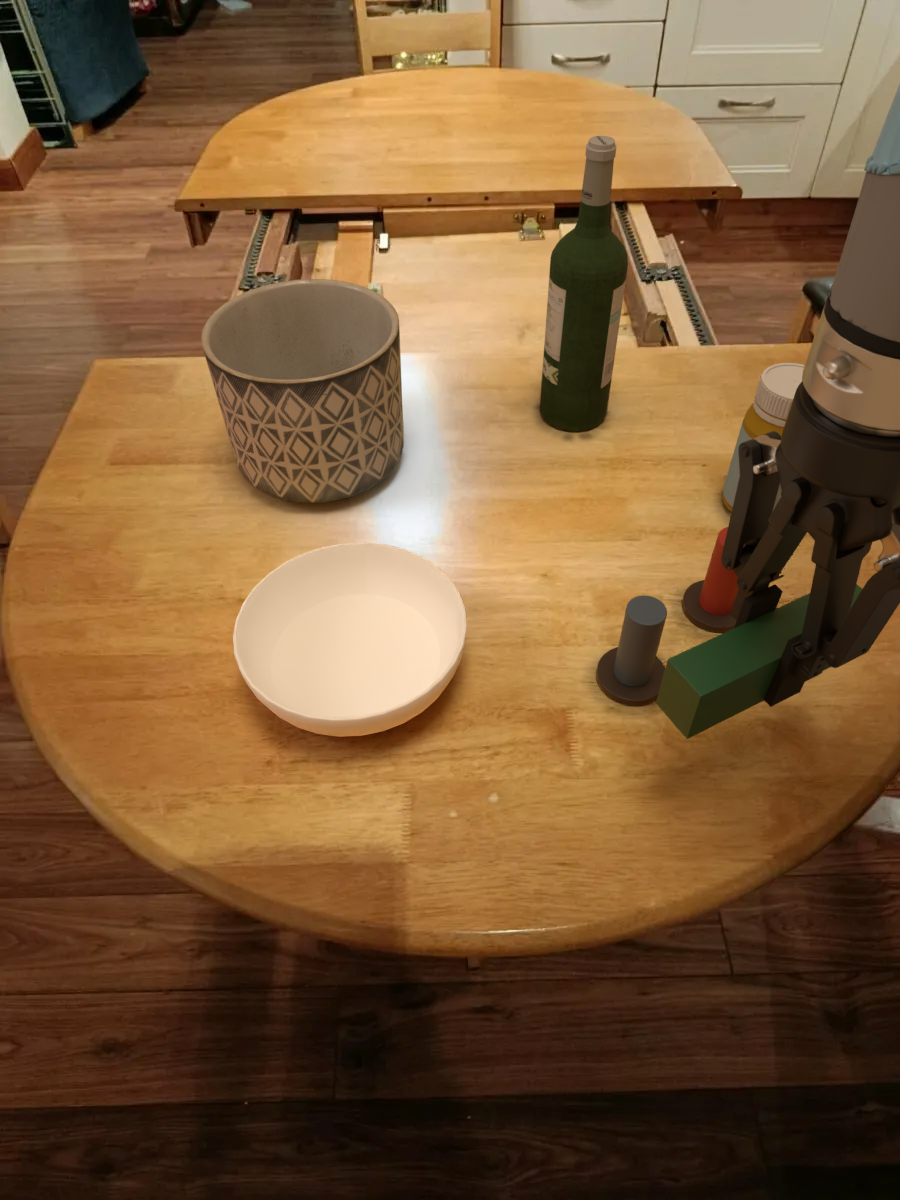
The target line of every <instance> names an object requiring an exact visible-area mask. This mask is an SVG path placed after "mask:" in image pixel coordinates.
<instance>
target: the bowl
mask: <svg viewBox="0 0 900 1200" xmlns="http://www.w3.org/2000/svg"><path fill="white" fill-rule="evenodd" d="M467 617H468V616H467V609H466V607H465V603H464V600H463V598H462V595H461V592H460V591H459V589H458V588H457V587H456V585H455V583H454V582H453V580H452V579H451V578H450V577H449V576H448V575H447V574H446V573H445V572H444V571H443V570H442V569H441V568H440V567H439V566H437V565H435V564H434V563H433V562H431V561H429V560H428V559H427V558H425V557H423V556H421V555H419V554H417V553H415V552H413V551H410V550H408V549H406V548H401V547H397V546H394V545H390V544H387V543H386V544H385V543H377V542H375V543H374V542H367V541H365V542H363V541H362V542H343V543H337V544H333V545H325V546H322V547H319V548H316V549H312V550H308V551H306V552H303V553H301V554H299V555H296V556H294V557H292V558H291V559H289V560H287V561H284V562H283V563H282V564H279V566H277V567H275V568H274V569H273V570H271V571H270V572H269V573H267V574H266V575H265V576H264V577H263V578H262V579H261V580H260V581H259V582H258V583H257V584H256V585H254V587H253V588H252V589H251V591H250V592H249V594H248V595H247V597H246V598H245V600H244V601H243V602H242V604H241V607H240V609H239V611H238V613H237V616H236V618H235V622H234V627H233V628H234V629H233V633H232V647H233V656H234V660H235V662H236V664H237V667H238V669H239V673H240V674H241V676H242V678H243V679H244V682H245V683H246V685H247V686H248V688H249V689H250V690H251V692H252V694H253V695H254V696H255V697H256V699H257V700H258V701H259V702H260V703H261V704H263V705H264V706H265V707H266V708H267V709H268V710H270V711H271V712H272V713H273V714H274V715H276V716H277V717H278V718H280V719H281V720H283V721H285V722H286V723H289V724H290V725H292V726H294V727H296V728H298V729H301V730H304V731H308V732H311V733H314V734H317V735H323V736H330V737H342V738H343V737H362V736H367V735H371V734H376V733H380V732H381V733H382V732H385V731H387V730H390V729H392V728H395V727H398V726H400V725H402V724H405V723H406V722H407V723H408V721H410V720H412V719H413V718H415V717H416V716H418V715H420V714H422V713H423V712H424V711H425V710H426V709H428V708H429V707H430V706H431V705H432V704H433V703H434V702H435V701H436V700H438V698H439V697H440V696H441V694H442V693H443V692H444V691H445V689H446V688H447V687H448V686H449V684H450V682H451V680H452V679H453V678H454V676H455V674H456V671H457V669H458V667H459V666H460V663H461V661H462V658H463V653H464V648H465V644H466V638H467V633H468V618H467Z"/></svg>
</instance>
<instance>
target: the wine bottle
mask: <svg viewBox="0 0 900 1200" xmlns="http://www.w3.org/2000/svg"><path fill="white" fill-rule="evenodd" d="M616 153H617V144H616V140H615V138H613V137H612V136H608V135H594V136H591V137H589V139H588V142H587V144H586V146H585V162H584V163H585V164H584V172H583V179H582V185H581V186H582V187H581V195H580V203H579V210H578V218H577V221H576V224H575V226H574V227H573V228H572V229H571V230H570V231H568V232H567V233H566V234H565V235H563V236H562V237H561V238H560V239H559V240H558V241H557V242H556V244H555V246H554V248H553V249H552V251H551V254H550V259H549V261H550V262H549V275H548V276H549V277H548V289H547V303H546V318H545V328H544V329H545V331H544V342H543V343H544V344H543V359H542V369H541V370H542V371H541V372H542V373H541V382H540V383H541V384H540V385H541V386H540V399H539V413H540V416H541V417H542V419H543V420H544V421H545V422H546V423H547V424H548V425H550V426H551V427H553V428H555V429H558V430H561V431H565V432H576V433H577V432H585V431H589V430H592V429H594V428H596V427H598V426H599V425H600V424H601V423H603V421H604V420H605V418H606V416H607V414H608V406H609V400H610V393H611V386H612V378H613V373H614V372H613V371H614V365H615V359H616V350H617V344H618V337H619V330H620V323H621V316H622V310H623V309H622V308H623V303H624V302H623V301H624V296H625V289H626V288H625V287H626V281H627V274H628V268H629V267H628V266H629V260H628V259H629V258H628V252H627V250H626V246H625V245H624V244H623V242H622V241H621V240H620V239H619V237H618V236H617V235H616V233H614V232H613V231H612V229H611V227H610V222H609V221H610V210H611V198H612V185H613V173H614V162H615V158H616V155H617V154H616Z"/></svg>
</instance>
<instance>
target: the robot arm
mask: <svg viewBox="0 0 900 1200" xmlns="http://www.w3.org/2000/svg"><path fill="white" fill-rule="evenodd" d="M897 86H898V87H897V88H896V92H895V95H894V97H893V99H892V102H891V104H890V108H889V109H888V113H887V115H886V117H885V120H884V122H883V125H882V128H881V131H880V133H879V135H878V138H877V141H876V143H875V146H874V148H873V151H872V153H871V155H870V156H869V157H868V158H867V159H866V162H865V165H864V171H865V175H864V178H863V182H862V185H861V189H860V192H859V196H858V199H857V203H856V207H855V210H854V213H853V217H852V219H851V222H850V225H849V226H850V227H849V230H848V232H847V236H846V240H845V242H844V246H843V249H842V252H841V255H840V259H839V262H838V265H837V269H836V272H835V274H834V279H833V281H832V284H831V286H830V289H829V290H828V294H827V298H826V301H825V303H824V306H823V308H822V311H821V315H820V317H819V321H818V324H817V327H816V330H815V333H814V336H813V338H812V342H811V345H810V348H809V351H808V354H807V357H806V360H805V363H804V365H805V366H804V369H803V375H802V382H801V383H800V384H799V386H798V387H797V389H796V392H795V395H794V398H793V401H792V404H791V407H790V411H789V414H788V417H787V420H786V423H785V426H784V429H783V432H782V436H780V434H779V433H778V432H776V431H771V432H769V433H766V434H764V435H761V436H759V437H756V438H753V439H751V440H748V441H745V442H743V443H741V444H740V445H739V448H738V453H739V469H740V477H739V482H738V486H737V491H736V495H735V499H734V504H733V508H732V512H730V517H729V521H728V526H727V527H728V530H727V534H726V539H725V543H724V548H723V552H722V556H721V561H722V564H723V566H724V567H725V569H727V570H732V569H733V570H734V572H735V573H736V575H737V577H738V579H737V586H738V588H739V589H738V592H737V595H736V598H735V601H734V605H733V607H732V617H733V618H734V619H735V620H736V624H735V627H734V628H736V627H738V626H740V625H743V624H745V623H747V622H749V621H751V620H753V619H755V618H758V617H760V616H762V615H764V614H766V613H768V612H771V611H773V610H775V609H777V608H778V604H779V602H780V601H781V600H780V599H781V597H782V594H783V593H784V591H783V589H781V588H780V587H779V586H778V585H776V584H772V585H771V586H770V584H771V583H773V582H775V581H778V580H780V579H781V578H784V577H785V574H782V572H783V570H784V568H785V566H786V565H787V564H788V562H789V561H790V559H791V557H792V556H793V554H795V552H796V550H797V549H798V547H799V546H800V544H801V542H802V541H803V540H804V538H805V536H806V535H807V534H809V536H810V537H811V538H812V539H813V541H814V543H813V547H812V553H811V557H810V558H811V562H812V563H813V564H815V567H814V572H813V577H812V582H811V587H810V592H809V593H810V596H809V601H808V606H807V611H806V616H805V621H804V626H803V631H802V634H800V635H798V636H796V637H793V638H791V639H789V640H788V642H787V644H786V647H785V649H784V651H783V654H782V656H781V659H780V662H779V664H778V667H777V669H776V671H775V674H774V676H773V678H772V681H771V683H770V685H769V688H768V690H767V692H766V695H765V697H764V699H763V700H764V701H763V702H765V703H766V704H767V705H768V706H769V707H770V708H771V707H774V706H775V705H777V704H779V703H782V702H783V701H785V700H787V699H789V698H792V697H794V696H795V695H797V694H800V693H801V692H802V689H803V687H804V685H805V683H806V682H808V681H810V680H812V679H815V678H816V677H818V676H820V675H821V674H823V672H824V671H825V670H824V667H825V666H826V664H827V663H828V665H830V666H831V667H830V668H833V669H838V668H839V667H841V666H843V665H845V664H847V663H849V662H851V661H854V660H856V659H857V658H860V657H861V656H863V655H866V654H867V653H868V652H869V651H870V649H872V646H873V645H874V643H875V642H876V640H877V639H878V637H879V636H880V634H881V633H882V631H883V630H884V628H885V626H886V625H887V624H888V622H889V620H890V619H891V618H892V616H893V615H894V613H895V612H896V610H897V608H898V607H899V605H900V83H898V85H897ZM780 484H781V489H782V492H781V498H780V500H779V502H778V503H777V505H776V507H775V508H774V504H775V500H776V497H777V493H778V489H779V485H780ZM773 508H774V510H773ZM772 511H773V512H772ZM878 541H880V542H881V547H882V550H881V553H880V554H879V555H878V559H877V561H875V562H874V563H873V569H874V571H876V572H875V573H874V574H872V576H871V577H869V579H868V580H867V581H866V583H864V585H863V587H862V590H861V592H860V594H859V596H858V597H857V599H856V601H855V602H854V604H853V606H852V607H851V604H852V600H853V596H854V592H855V588H856V584H857V583H858V580H859V574H860V571H861V567H862V563H863V560H864V559H865V557H866V556H867V555H868V554H869V553H870V551H871V548H872V544H873V543H874V542H878ZM857 585H858V584H857ZM850 608H851V609H850ZM823 670H824V671H823Z"/></svg>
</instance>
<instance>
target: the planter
mask: <svg viewBox="0 0 900 1200" xmlns="http://www.w3.org/2000/svg"><path fill="white" fill-rule="evenodd" d="M400 332H401V331H400V318H399V314H398V312H397V310H396V308H395V307H394V305H393V304H392V303H391V302H390V301H389V300H388V299H387V298H386V297H385V296H383V295H382V294H380V293H378V292H377V291H375V290H372V289H370V288H368V287H366V286H363V285H360V284H357V283H353V282H350V281H349V282H348V281H344V280H337V279H329V278H328V279H325V278H303V279H302V278H301V279H291V280H285V281H279V282H278V281H277V282H274V283H269V284H266V285H262V286H258V287H255V288H253V289H250V290H248V291H245V292H243V293H241V294H238V295H237V296H235V297H233V298H231V299H229V300H227V301H226V302H225V303H223V304H222V305H221V306H219V308H216V310H215V311H214V312H213V313H211V315H210V316H209V317H208V319H207V320H206V322H205V324H204V326H203V328H202V331H201V336H200V340H201V348H202V351H203V354H204V357H205V361H206V364H207V368H208V371H209V375H210V377H211V381H212V384H213V385H212V386H213V387H214V388H213V389H214V391H215V396H216V398H217V401H218V406H219V408H220V411H221V415H222V418H223V423H224V425H225V429H226V433H227V435H228V440H229V441H230V442H229V443H230V447H231V449H232V453H233V457H234V459H235V463H236V465H237V468H238V470H239V472H240V474H242V477H243V478H244V479H245V480H246V481H247V482H248V484H250V485H251V486H252V487H254V488H255V489H256V490H258V491H259V492H262V493H264V494H266V495H268V496H270V497H274V498H275V499H279V500H283V501H288V502H295V503H306V504H308V503H309V504H312V503H313V504H314V503H315V504H317V503H327V502H334V501H338V500H339V501H340V500H343V499H347V498H350V497H353V496H356V495H358V494H361V493H362V492H365V491H367V490H369V489H371V488H372V487H374V486H376V485H377V484H378V483H379V484H380V482H381V481H383V480H384V479H385V478H386V477H388V475H390V473H392V471H393V470H394V469H395V468H396V466H397V464H398V463H399V461H400V459H401V458H402V454H403V450H404V446H405V445H404V443H405V439H404V437H405V436H404V414H403V411H404V410H403V388H402V387H403V385H402V359H401V333H400Z"/></svg>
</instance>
